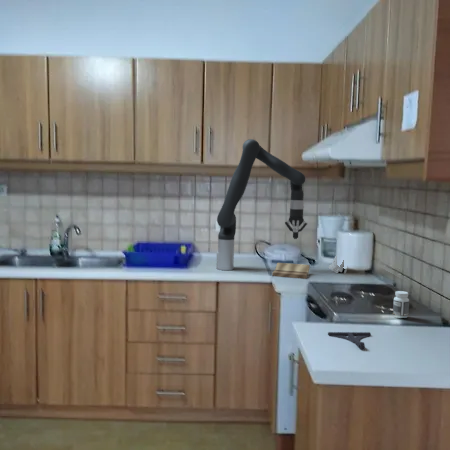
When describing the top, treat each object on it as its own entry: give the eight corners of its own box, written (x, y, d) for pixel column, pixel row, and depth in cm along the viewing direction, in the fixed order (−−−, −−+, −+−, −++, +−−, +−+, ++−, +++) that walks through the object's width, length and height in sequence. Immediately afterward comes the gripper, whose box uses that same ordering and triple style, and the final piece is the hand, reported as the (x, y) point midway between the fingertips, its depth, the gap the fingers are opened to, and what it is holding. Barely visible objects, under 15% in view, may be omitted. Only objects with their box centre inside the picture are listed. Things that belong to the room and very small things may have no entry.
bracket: (340, 352, 152) (340, 343, 152) (327, 336, 167) (328, 328, 167) (385, 352, 153) (385, 344, 153) (368, 336, 168) (369, 329, 167)
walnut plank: (272, 276, 262) (272, 272, 261) (274, 273, 268) (274, 269, 268) (305, 278, 257) (306, 274, 256) (307, 276, 263) (307, 272, 263)
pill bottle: (405, 315, 193) (406, 290, 191) (410, 319, 187) (412, 294, 186) (390, 314, 193) (392, 290, 192) (395, 319, 187) (397, 293, 186)
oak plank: (275, 273, 270) (275, 270, 269) (277, 265, 275) (277, 262, 274) (307, 275, 265) (307, 272, 264) (309, 267, 270) (309, 265, 269)
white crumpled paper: (328, 267, 290) (334, 252, 289) (335, 270, 290) (341, 254, 290) (337, 273, 273) (343, 256, 273) (344, 276, 274) (351, 259, 273)
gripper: (283, 208, 272) (282, 238, 273) (307, 209, 268) (306, 240, 270) (286, 207, 279) (285, 237, 281) (309, 208, 275) (308, 238, 277)
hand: (295, 238), depth 275 cm, fingers closed
